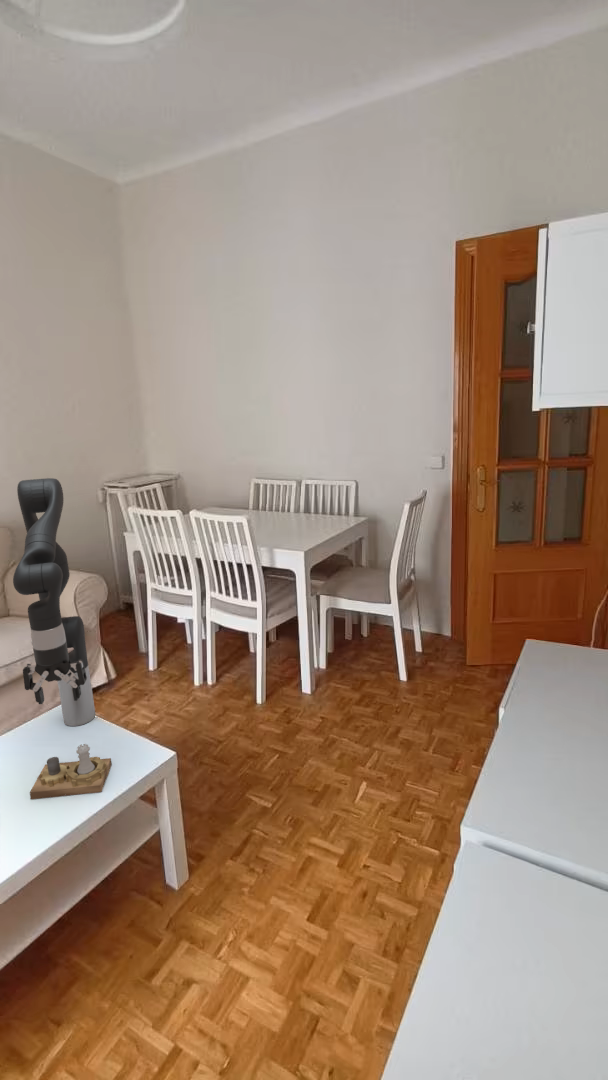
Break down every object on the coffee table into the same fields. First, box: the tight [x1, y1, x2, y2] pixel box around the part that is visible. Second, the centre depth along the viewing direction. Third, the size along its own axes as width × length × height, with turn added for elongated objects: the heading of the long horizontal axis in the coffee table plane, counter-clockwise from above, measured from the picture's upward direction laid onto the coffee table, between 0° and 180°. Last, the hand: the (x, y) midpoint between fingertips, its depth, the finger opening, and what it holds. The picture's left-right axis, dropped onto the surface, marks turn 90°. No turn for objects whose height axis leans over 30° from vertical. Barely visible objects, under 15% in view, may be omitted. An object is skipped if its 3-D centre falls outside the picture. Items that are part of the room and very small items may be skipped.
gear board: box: [29, 756, 113, 800], centre depth 141 cm, size 11×17×7 cm, turn 96°
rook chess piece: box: [76, 743, 95, 775], centre depth 141 cm, size 4×4×8 cm
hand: (59, 700), depth 139 cm, fingers open, 8 cm apart
